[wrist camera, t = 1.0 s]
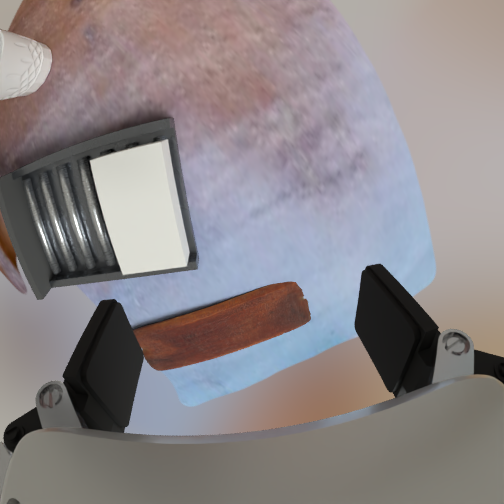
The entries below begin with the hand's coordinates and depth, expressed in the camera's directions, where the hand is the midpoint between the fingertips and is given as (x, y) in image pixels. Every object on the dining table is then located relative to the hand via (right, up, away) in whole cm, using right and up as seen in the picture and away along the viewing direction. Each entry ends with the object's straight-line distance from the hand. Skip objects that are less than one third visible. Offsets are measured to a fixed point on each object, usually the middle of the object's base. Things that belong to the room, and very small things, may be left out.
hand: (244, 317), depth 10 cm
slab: (-10, +7, +16) cm, 20 cm away
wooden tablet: (-5, -9, +28) cm, 30 cm away
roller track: (-18, +7, +17) cm, 26 cm away
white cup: (-26, +24, +8) cm, 36 cm away
